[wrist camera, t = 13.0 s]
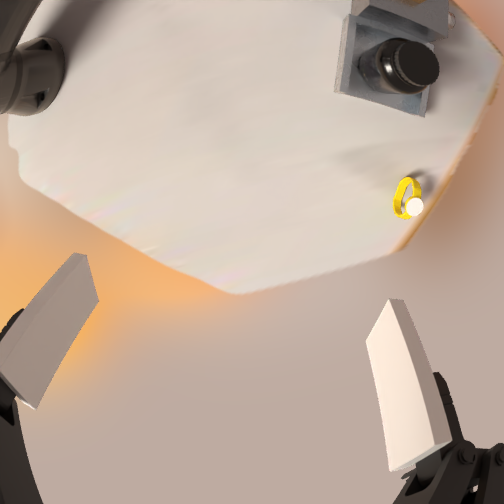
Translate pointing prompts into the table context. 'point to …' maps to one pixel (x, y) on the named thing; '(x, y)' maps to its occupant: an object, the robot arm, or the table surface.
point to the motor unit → (383, 28)
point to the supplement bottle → (399, 67)
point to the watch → (412, 203)
